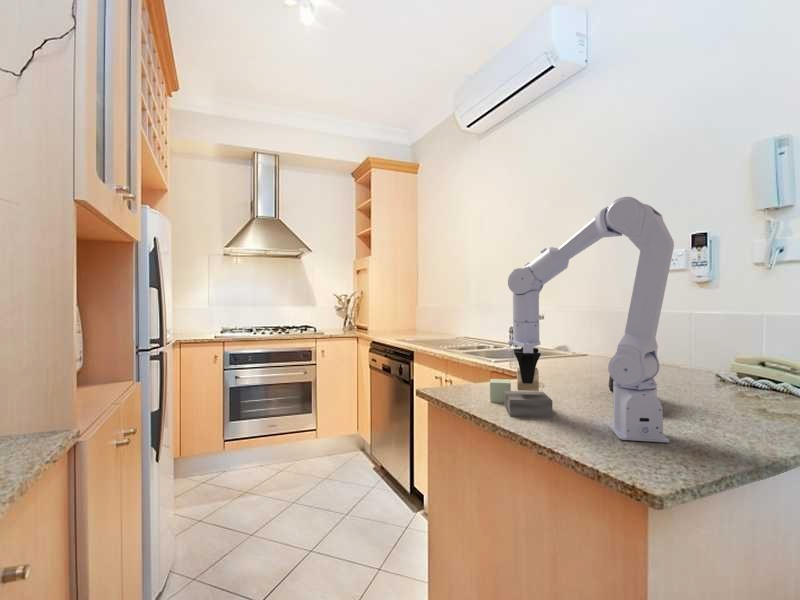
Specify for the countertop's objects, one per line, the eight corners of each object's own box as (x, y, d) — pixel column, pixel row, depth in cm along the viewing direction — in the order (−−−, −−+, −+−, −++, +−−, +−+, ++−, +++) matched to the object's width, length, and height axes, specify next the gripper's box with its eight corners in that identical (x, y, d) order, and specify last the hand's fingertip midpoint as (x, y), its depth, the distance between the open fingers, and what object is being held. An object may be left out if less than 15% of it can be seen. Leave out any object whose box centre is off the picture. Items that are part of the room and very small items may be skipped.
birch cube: (538, 391, 93) (538, 370, 93) (517, 390, 94) (517, 370, 94) (537, 387, 97) (536, 367, 97) (517, 386, 98) (516, 367, 98)
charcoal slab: (552, 418, 90) (552, 400, 90) (510, 418, 91) (509, 399, 91) (542, 408, 99) (542, 391, 99) (504, 407, 100) (504, 390, 100)
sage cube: (510, 403, 104) (510, 383, 104) (490, 402, 105) (490, 382, 105) (510, 398, 108) (510, 379, 108) (490, 397, 110) (490, 378, 110)
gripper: (507, 320, 104) (508, 375, 103) (508, 323, 89) (509, 386, 89) (537, 320, 102) (538, 376, 102) (543, 323, 88) (543, 388, 88)
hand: (526, 381), depth 95 cm, fingers closed on birch cube, 4 cm apart
